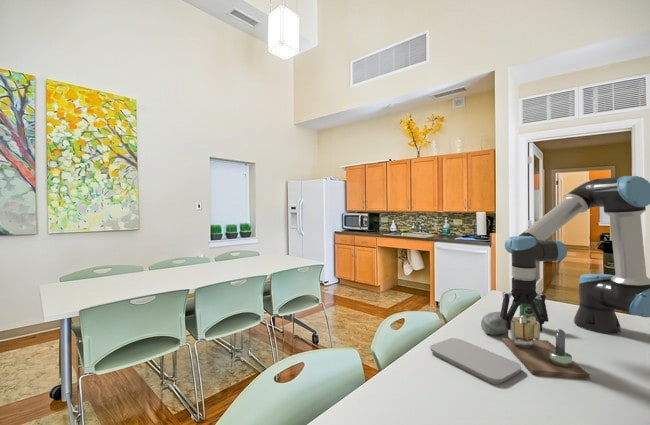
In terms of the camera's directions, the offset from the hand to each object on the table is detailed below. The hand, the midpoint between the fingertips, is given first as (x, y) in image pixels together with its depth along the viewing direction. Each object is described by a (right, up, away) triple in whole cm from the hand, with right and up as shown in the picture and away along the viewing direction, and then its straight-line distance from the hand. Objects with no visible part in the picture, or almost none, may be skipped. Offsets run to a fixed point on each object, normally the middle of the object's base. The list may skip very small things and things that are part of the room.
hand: (523, 338), depth 113 cm
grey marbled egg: (-1, -4, +15) cm, 16 cm away
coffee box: (+17, -4, +21) cm, 27 cm away
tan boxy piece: (0, +2, 0) cm, 2 cm away
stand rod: (0, -2, 0) cm, 2 cm away
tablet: (-23, -5, -8) cm, 25 cm away
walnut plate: (+2, -4, -6) cm, 8 cm away
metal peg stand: (+4, -3, -13) cm, 14 cm away
